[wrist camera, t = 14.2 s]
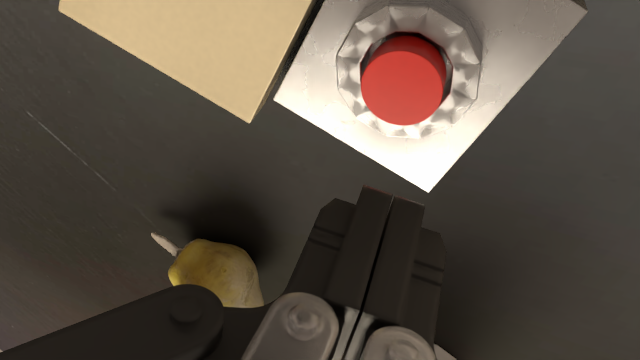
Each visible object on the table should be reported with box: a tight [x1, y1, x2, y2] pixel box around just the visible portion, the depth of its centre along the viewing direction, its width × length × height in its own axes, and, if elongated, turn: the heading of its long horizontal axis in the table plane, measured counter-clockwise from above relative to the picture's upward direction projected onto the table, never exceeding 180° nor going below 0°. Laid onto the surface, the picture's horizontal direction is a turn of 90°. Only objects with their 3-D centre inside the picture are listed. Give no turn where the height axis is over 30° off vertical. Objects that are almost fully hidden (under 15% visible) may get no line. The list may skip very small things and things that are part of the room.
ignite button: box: [361, 36, 446, 126], centre depth 25 cm, size 4×4×2 cm
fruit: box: [151, 232, 264, 308], centre depth 40 cm, size 6×6×10 cm
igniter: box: [273, 0, 588, 192], centre depth 27 cm, size 12×10×4 cm
